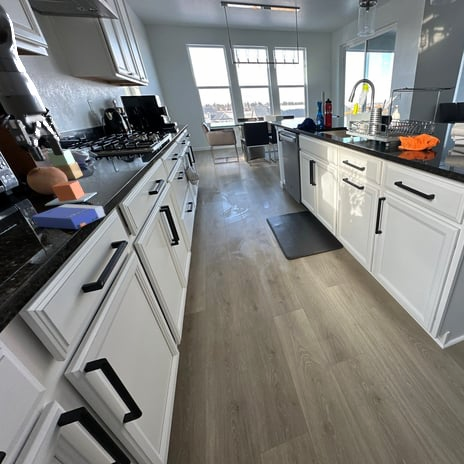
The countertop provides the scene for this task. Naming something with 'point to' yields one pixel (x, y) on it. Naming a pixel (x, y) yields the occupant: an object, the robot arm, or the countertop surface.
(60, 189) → the top cube
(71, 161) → the middle block
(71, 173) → the bottom block
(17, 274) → the countertop surface
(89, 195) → the pad
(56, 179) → the onion
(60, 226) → the walkman
